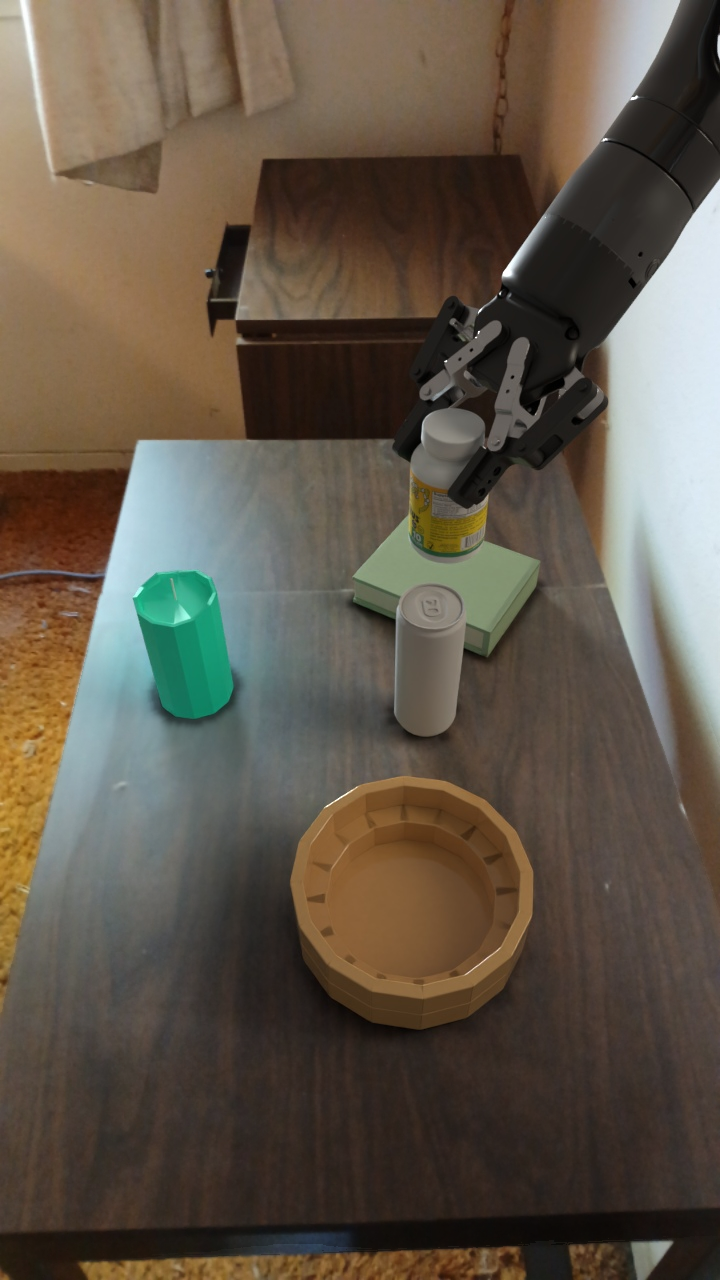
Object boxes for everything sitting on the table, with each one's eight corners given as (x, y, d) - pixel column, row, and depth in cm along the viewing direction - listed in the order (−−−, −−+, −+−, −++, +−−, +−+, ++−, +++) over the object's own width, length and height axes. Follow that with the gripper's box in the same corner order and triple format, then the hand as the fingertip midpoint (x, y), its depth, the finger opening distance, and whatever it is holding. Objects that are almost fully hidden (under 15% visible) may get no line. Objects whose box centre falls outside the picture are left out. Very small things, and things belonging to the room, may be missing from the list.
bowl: (558, 879, 59) (570, 840, 56) (459, 1079, 51) (465, 1048, 47) (370, 785, 65) (370, 744, 61) (252, 952, 56) (243, 915, 52)
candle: (247, 675, 72) (230, 564, 63) (208, 729, 68) (184, 619, 60) (184, 653, 74) (159, 542, 65) (143, 704, 70) (110, 593, 61)
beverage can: (451, 690, 71) (462, 579, 62) (460, 738, 67) (472, 628, 59) (391, 694, 71) (393, 583, 62) (396, 742, 67) (399, 632, 59)
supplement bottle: (483, 568, 61) (497, 451, 54) (406, 564, 62) (409, 448, 55) (482, 518, 65) (495, 403, 58) (409, 515, 65) (413, 400, 58)
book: (536, 586, 79) (540, 561, 77) (487, 657, 73) (490, 632, 71) (408, 538, 84) (409, 513, 82) (352, 602, 78) (352, 576, 76)
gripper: (489, 176, 55) (333, 407, 59) (664, 259, 47) (468, 520, 51) (542, 241, 61) (397, 447, 65) (706, 325, 53) (527, 554, 57)
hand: (429, 478), depth 58 cm, fingers closed on supplement bottle, 5 cm apart
